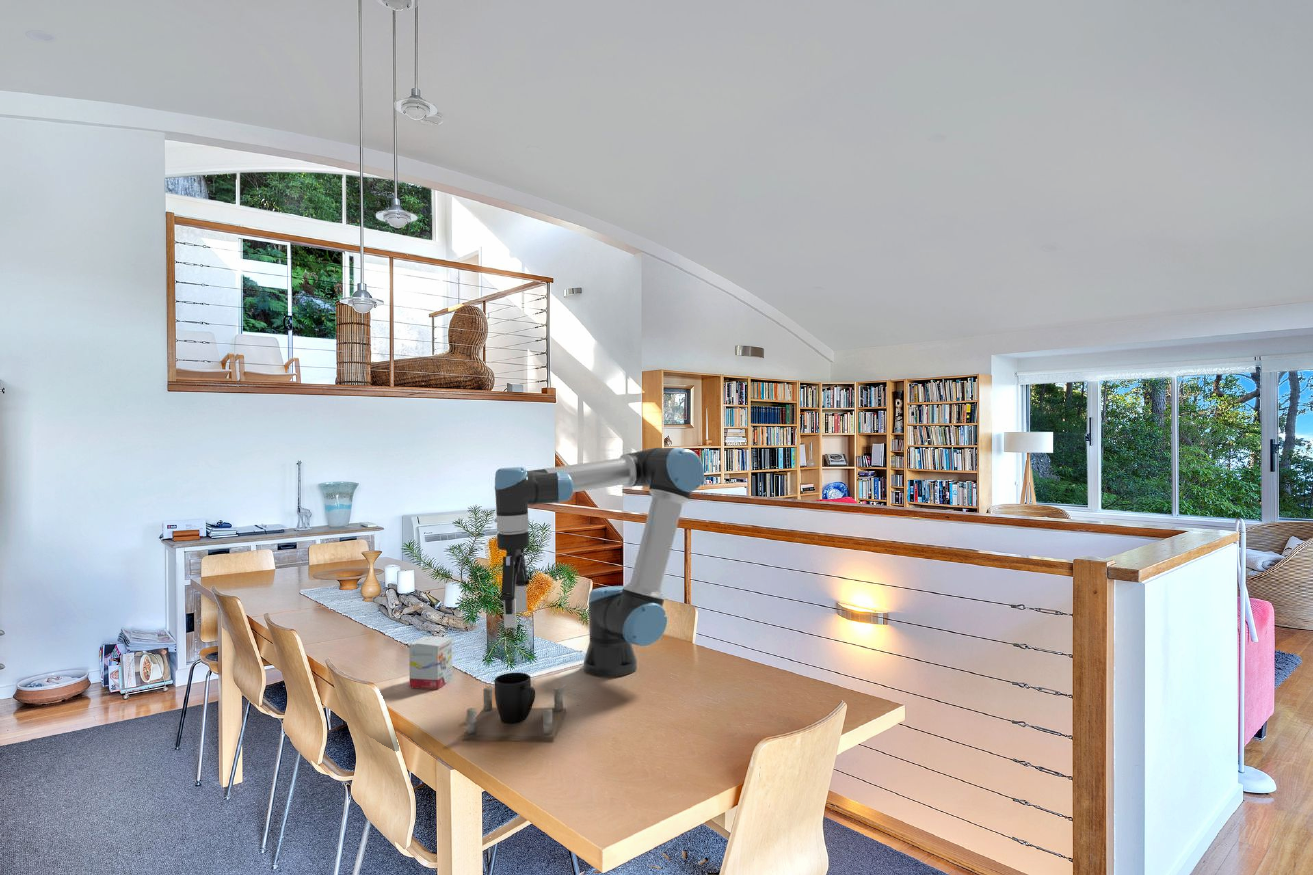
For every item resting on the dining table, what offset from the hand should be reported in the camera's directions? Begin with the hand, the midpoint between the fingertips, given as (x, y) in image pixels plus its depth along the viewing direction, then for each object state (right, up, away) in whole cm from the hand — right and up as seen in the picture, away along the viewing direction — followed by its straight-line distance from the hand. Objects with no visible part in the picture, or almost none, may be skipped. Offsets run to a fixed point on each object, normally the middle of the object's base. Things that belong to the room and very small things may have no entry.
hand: (516, 619), depth 178 cm
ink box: (-27, -23, +20) cm, 40 cm away
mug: (+2, -21, -9) cm, 23 cm away
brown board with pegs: (+2, -22, -9) cm, 24 cm away
